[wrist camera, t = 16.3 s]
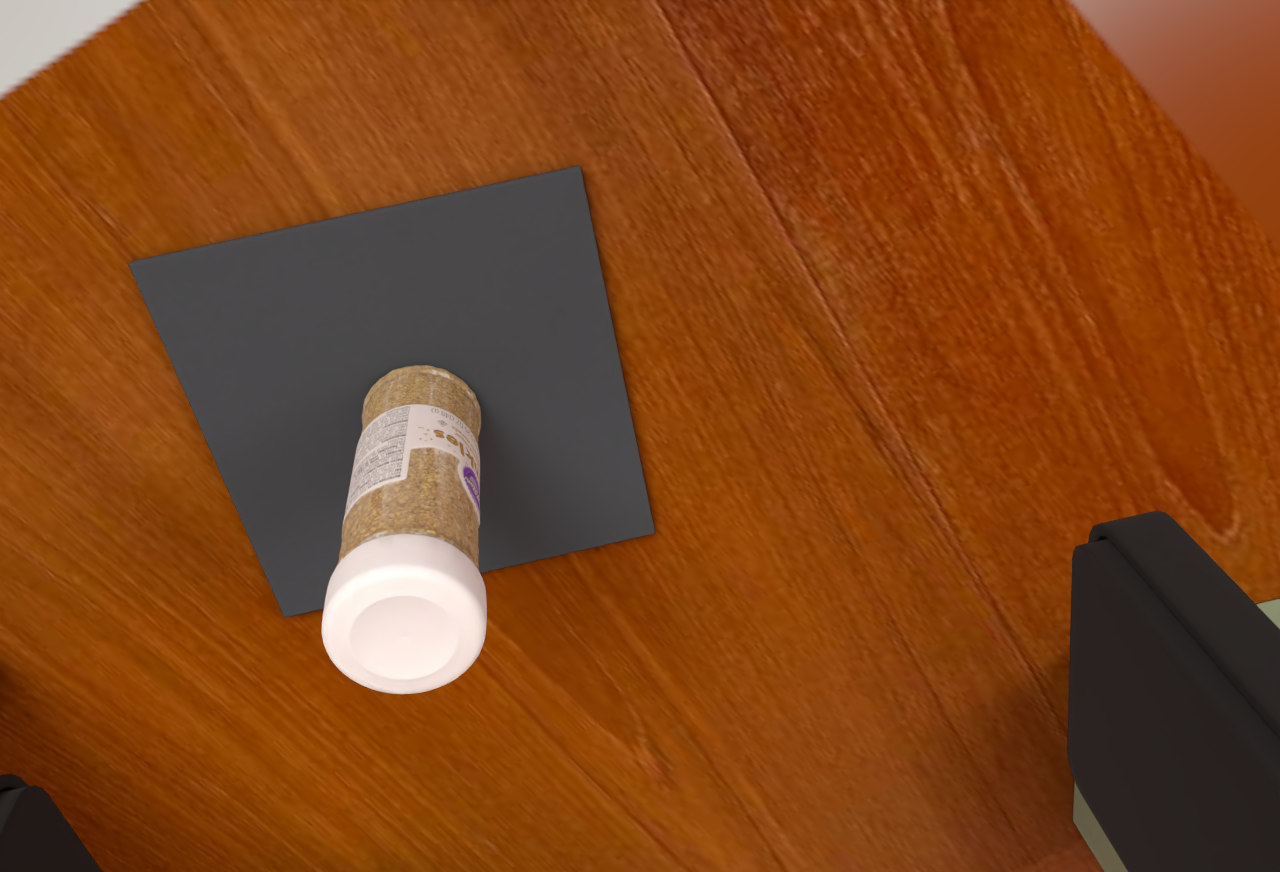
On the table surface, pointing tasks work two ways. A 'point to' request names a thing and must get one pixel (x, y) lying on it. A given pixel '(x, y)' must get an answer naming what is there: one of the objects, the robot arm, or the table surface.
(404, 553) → the sprinkles bottle
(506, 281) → the mat
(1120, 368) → the table surface
